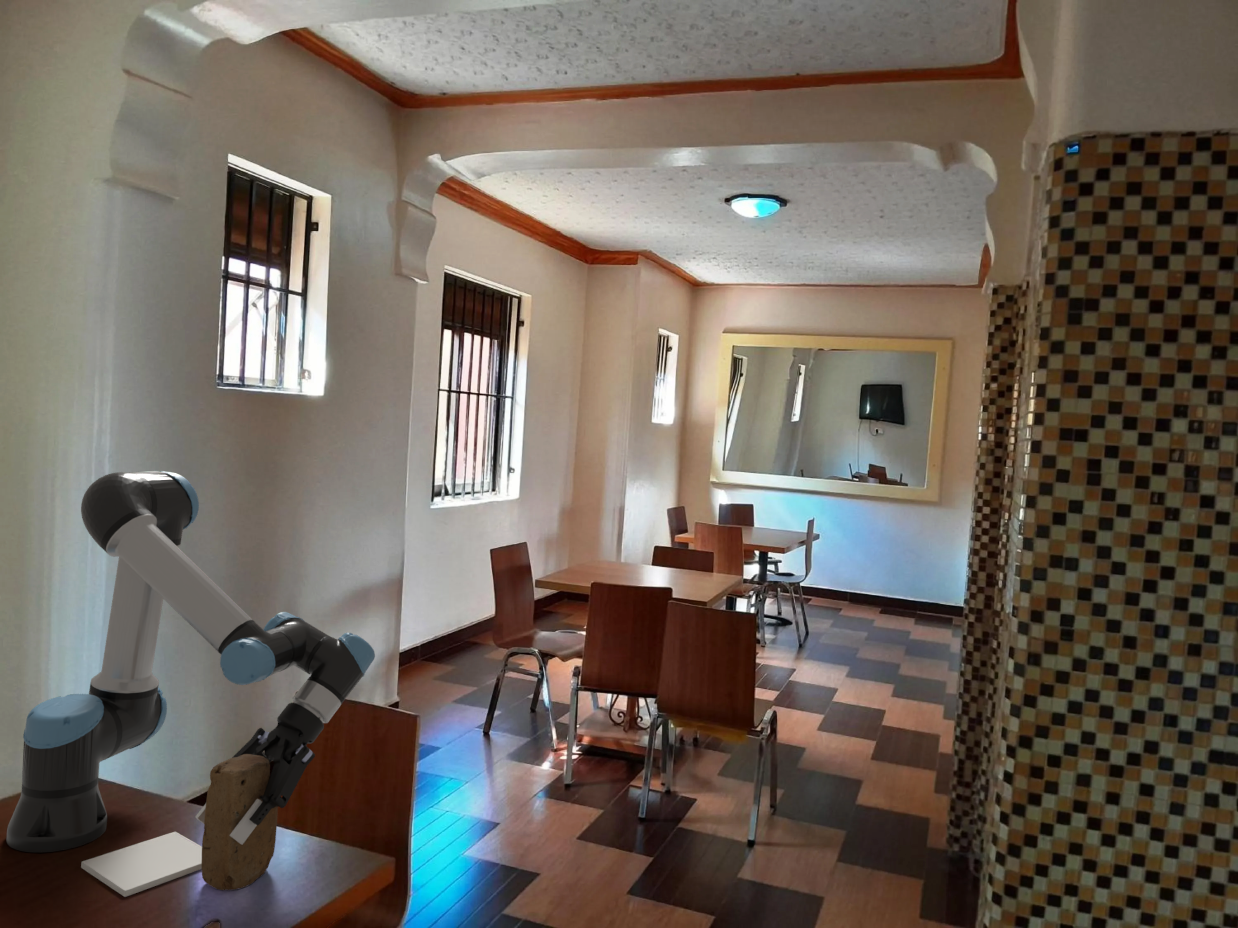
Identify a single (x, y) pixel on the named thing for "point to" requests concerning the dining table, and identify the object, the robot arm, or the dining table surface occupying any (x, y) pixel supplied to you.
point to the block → (225, 808)
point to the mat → (146, 863)
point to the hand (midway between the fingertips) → (218, 830)
